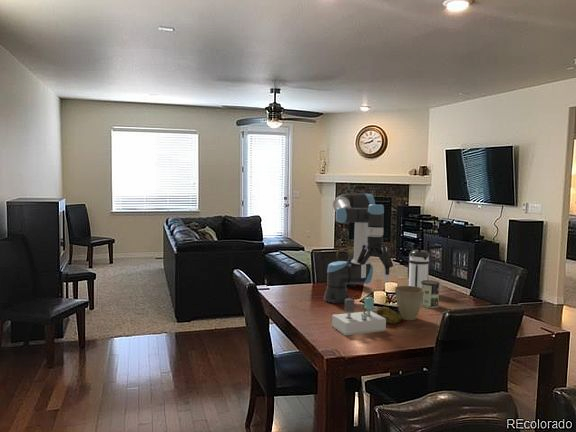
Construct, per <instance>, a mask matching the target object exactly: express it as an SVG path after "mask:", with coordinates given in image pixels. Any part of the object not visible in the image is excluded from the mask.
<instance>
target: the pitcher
mask: <svg viewBox="0 0 576 432" xmlns="http://www.w3.org/2000/svg"><path fill="white" fill-rule="evenodd" d="M347 243H348V244H349V245H348V244H345V247H346V248H347V249H344V248H339V249H338V250H337V251H336V253H335V254H336V256H335V258H336V260H337V261H340V260H339V253H340V252H343V253H347V257H348V258H347V261H346V262H347V264H351V260H352V259H353V258H354V242H351V241H348V242H347ZM347 285H348V287H356V285H358V284H347Z"/></svg>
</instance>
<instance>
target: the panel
mask: <svg viewBox="0 0 576 432" xmlns="http://www.w3.org/2000/svg"><path fill="white" fill-rule="evenodd" d="M363 312H365V313H367V311H359V312H351V319H347V313H340V314H339V313H337V314H331V315H332V318H331V320H332V321H331V327H332V326H333V327H334V328H333V327H332V328H333V329H335V330H336V329H337V330H336V331H338V332H339V333H341V334H342V335H344V336H351V335H361V334H371V333H379V332H386V331H387V330H386V328H387V327H386V325H387V322H386V319H385V318H383V317H382V316H380V315H378V314H377V312H374V311H373V310H371V311H370V317H367V320H365V321H364V320H361V313H363Z"/></svg>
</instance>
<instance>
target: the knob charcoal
mask: <svg viewBox="0 0 576 432" xmlns="http://www.w3.org/2000/svg"><path fill="white" fill-rule="evenodd" d="M344 310H345V311H347V313H346V314H347V319H351V313H352V312H353V311H354V310H355V299H353V298H349V299H345V303H344Z"/></svg>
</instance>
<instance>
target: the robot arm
mask: <svg viewBox="0 0 576 432" xmlns="http://www.w3.org/2000/svg"><path fill="white" fill-rule="evenodd" d="M332 206H333V207H332V208H333V209H334V211H335V221H336V222H337V223H343V224H344V223H354V235H353V236H354V237H353V238H354V239H353V243H354V244H353V245H354V258H353V259H352V260H351V264H347V262H346V261H344V260H339V261H338V260H337V261H332V262H330V263H329V264H328V265H327V270H326V273H327V276H326V277H327V280H326V281H327V283H326V285H327V286H326V289H325V292H324V296H323V301H324V300H325V301H324V302H326V301H328V302H327V303H329V302H332V303H331V304H345V299H350V296H349V292H348V288H347V284H357V285H368V284H370V283H371V282H372V278H373V273H374V271H373V270H374V267H373V264H371V261H370V260H369V259H370V257H371V256H377V257H378V258H379V259H380V262H381V263H382V265H383V266H384V267H383V271H382V273H383V275H382V279H383V280H382V281H383V282H384V283H385V282H389V275H390V268H394V263H393V261H392V258H391V256H390V252H389V247H388V246H384V247H383V244H384V237H383V236H384V215H385V214H384V213H385V206H384V205H383V204H376V200H375V197H374V195H373V194H372V193H343V194H340V195H338V196H336V198H334V200H333V202H332Z"/></svg>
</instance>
